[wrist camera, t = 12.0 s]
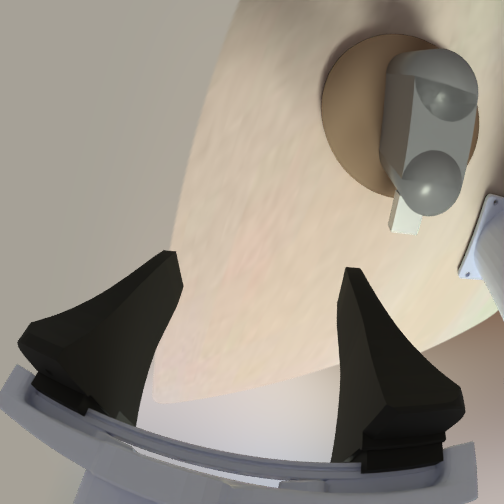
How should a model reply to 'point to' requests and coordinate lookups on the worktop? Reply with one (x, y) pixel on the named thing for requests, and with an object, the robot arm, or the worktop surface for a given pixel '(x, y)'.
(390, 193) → the walnut coaster
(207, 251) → the worktop surface
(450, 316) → the worktop surface
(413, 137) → the grey connector plug
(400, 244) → the worktop surface
